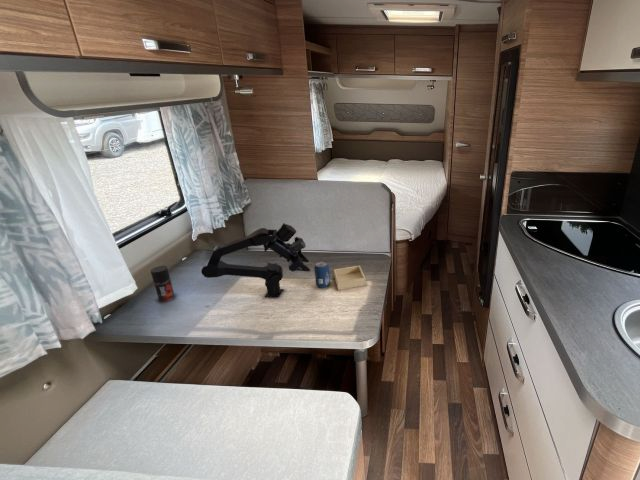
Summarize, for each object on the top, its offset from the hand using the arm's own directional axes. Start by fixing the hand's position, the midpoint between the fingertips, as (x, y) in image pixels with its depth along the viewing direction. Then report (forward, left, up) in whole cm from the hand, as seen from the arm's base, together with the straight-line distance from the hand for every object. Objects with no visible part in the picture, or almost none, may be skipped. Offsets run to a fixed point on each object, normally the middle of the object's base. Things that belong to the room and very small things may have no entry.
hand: (309, 266), depth 159 cm
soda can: (+2, -5, -12) cm, 13 cm away
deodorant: (-11, +63, -12) cm, 65 cm away
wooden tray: (+7, -17, -12) cm, 22 cm away
